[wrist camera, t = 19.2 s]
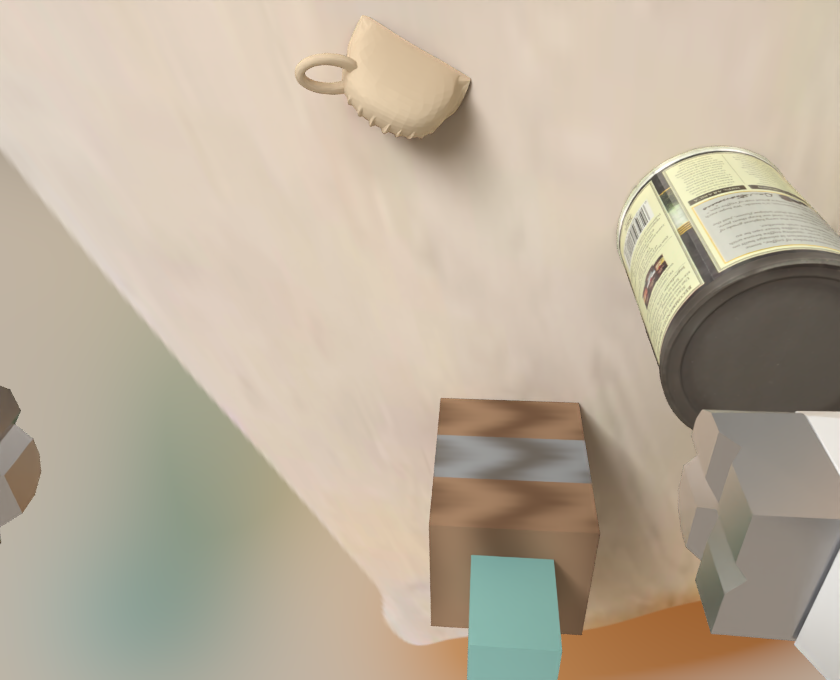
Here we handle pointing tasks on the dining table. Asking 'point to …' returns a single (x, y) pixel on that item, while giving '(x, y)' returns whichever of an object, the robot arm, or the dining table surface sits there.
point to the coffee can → (734, 285)
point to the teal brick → (513, 619)
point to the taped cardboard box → (511, 500)
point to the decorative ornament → (390, 81)
